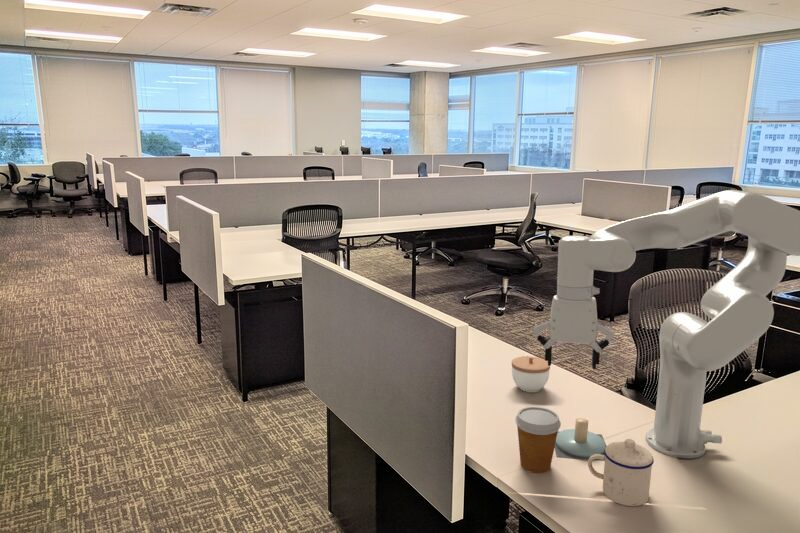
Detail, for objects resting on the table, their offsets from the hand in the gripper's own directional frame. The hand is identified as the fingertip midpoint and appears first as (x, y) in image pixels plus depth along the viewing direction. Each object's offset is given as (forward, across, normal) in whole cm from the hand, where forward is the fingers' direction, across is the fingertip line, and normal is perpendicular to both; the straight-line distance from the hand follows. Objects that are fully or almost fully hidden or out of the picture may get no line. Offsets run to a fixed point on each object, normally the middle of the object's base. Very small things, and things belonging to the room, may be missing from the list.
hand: (571, 365), depth 130 cm
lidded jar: (+20, +10, -30) cm, 38 cm away
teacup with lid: (+20, -9, +17) cm, 28 cm away
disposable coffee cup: (+20, +7, +12) cm, 24 cm away
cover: (+19, -3, 0) cm, 19 cm away
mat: (+20, -3, 0) cm, 20 cm away
